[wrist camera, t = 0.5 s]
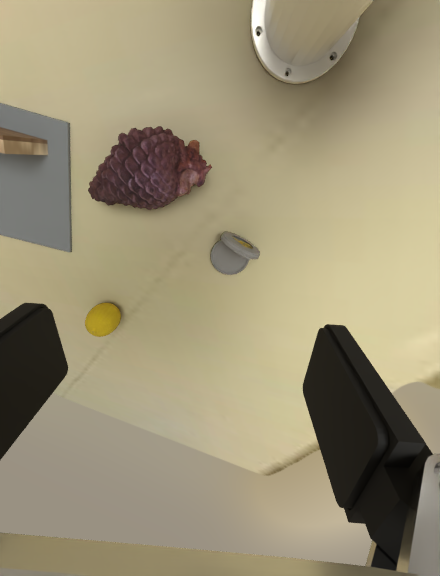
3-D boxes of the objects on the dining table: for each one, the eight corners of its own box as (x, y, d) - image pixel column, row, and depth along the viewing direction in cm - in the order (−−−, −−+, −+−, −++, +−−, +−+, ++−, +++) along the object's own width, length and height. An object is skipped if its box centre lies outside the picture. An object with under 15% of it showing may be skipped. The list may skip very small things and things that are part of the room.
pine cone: (117, 217, 42) (86, 232, 33) (89, 151, 38) (44, 148, 29) (220, 188, 39) (216, 196, 30) (201, 114, 35) (190, 98, 26)
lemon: (116, 291, 48) (97, 314, 41) (131, 314, 51) (115, 339, 43) (93, 300, 49) (70, 324, 42) (109, 322, 52) (89, 348, 45)
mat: (-47, 89, 35) (-51, 88, 34) (69, 123, 36) (67, 122, 36) (-21, 228, 44) (-24, 228, 43) (71, 251, 45) (70, 252, 44)
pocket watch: (213, 273, 46) (208, 301, 37) (207, 228, 42) (201, 246, 33) (258, 270, 45) (264, 297, 36) (256, 223, 41) (263, 240, 32)
